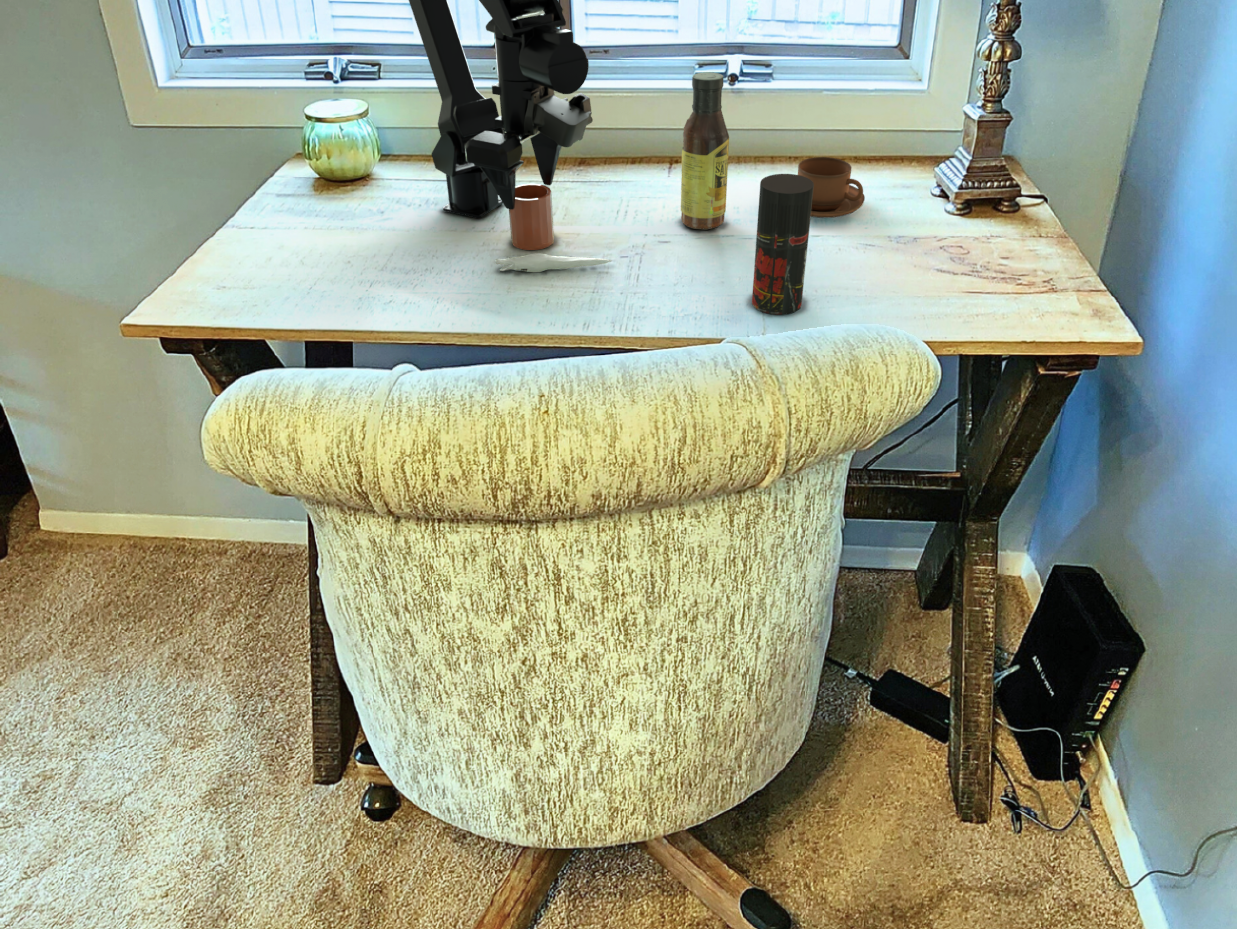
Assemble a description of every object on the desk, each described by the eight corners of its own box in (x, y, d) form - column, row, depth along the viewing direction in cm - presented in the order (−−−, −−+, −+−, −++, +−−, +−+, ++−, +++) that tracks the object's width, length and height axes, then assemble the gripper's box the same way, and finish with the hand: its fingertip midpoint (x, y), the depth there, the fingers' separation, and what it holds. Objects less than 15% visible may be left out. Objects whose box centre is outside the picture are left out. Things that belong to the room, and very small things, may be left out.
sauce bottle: (722, 233, 140) (729, 84, 128) (677, 230, 141) (680, 82, 129) (727, 214, 145) (735, 70, 133) (684, 211, 146) (687, 68, 134)
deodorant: (747, 293, 126) (755, 174, 117) (795, 290, 126) (807, 172, 117) (757, 316, 121) (766, 194, 112) (806, 313, 121) (819, 192, 112)
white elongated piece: (495, 275, 131) (494, 261, 129) (496, 266, 133) (495, 252, 132) (612, 271, 131) (612, 258, 130) (611, 262, 133) (611, 249, 132)
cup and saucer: (868, 197, 149) (874, 155, 146) (856, 229, 140) (861, 186, 137) (787, 188, 153) (790, 147, 149) (770, 219, 143) (773, 176, 140)
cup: (503, 245, 138) (499, 195, 134) (526, 229, 142) (522, 181, 138) (539, 253, 136) (536, 203, 131) (561, 237, 140) (559, 188, 135)
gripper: (536, 105, 116) (544, 234, 125) (614, 63, 129) (616, 182, 138) (456, 92, 120) (469, 217, 130) (540, 53, 133) (546, 169, 143)
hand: (529, 196), depth 135 cm, fingers open, 9 cm apart
